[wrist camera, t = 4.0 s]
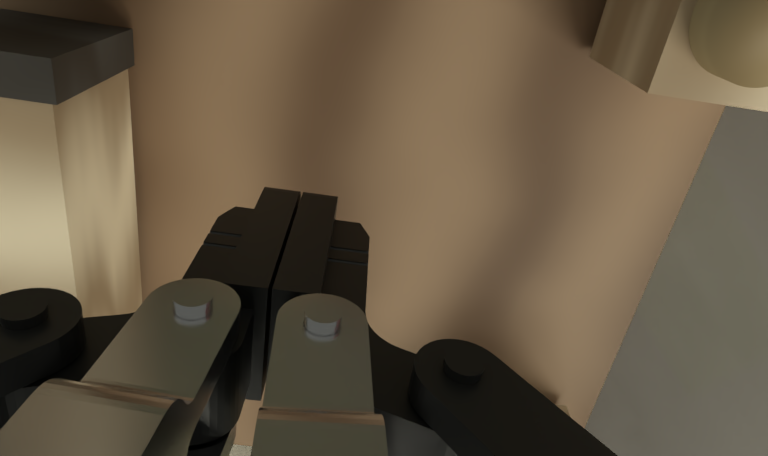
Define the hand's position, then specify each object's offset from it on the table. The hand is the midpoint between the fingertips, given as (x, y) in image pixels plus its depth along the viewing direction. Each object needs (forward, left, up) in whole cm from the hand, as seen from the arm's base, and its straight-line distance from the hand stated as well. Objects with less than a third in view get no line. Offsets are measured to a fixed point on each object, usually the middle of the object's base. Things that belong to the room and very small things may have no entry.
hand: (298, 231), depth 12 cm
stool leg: (+7, +5, -6) cm, 11 cm away
